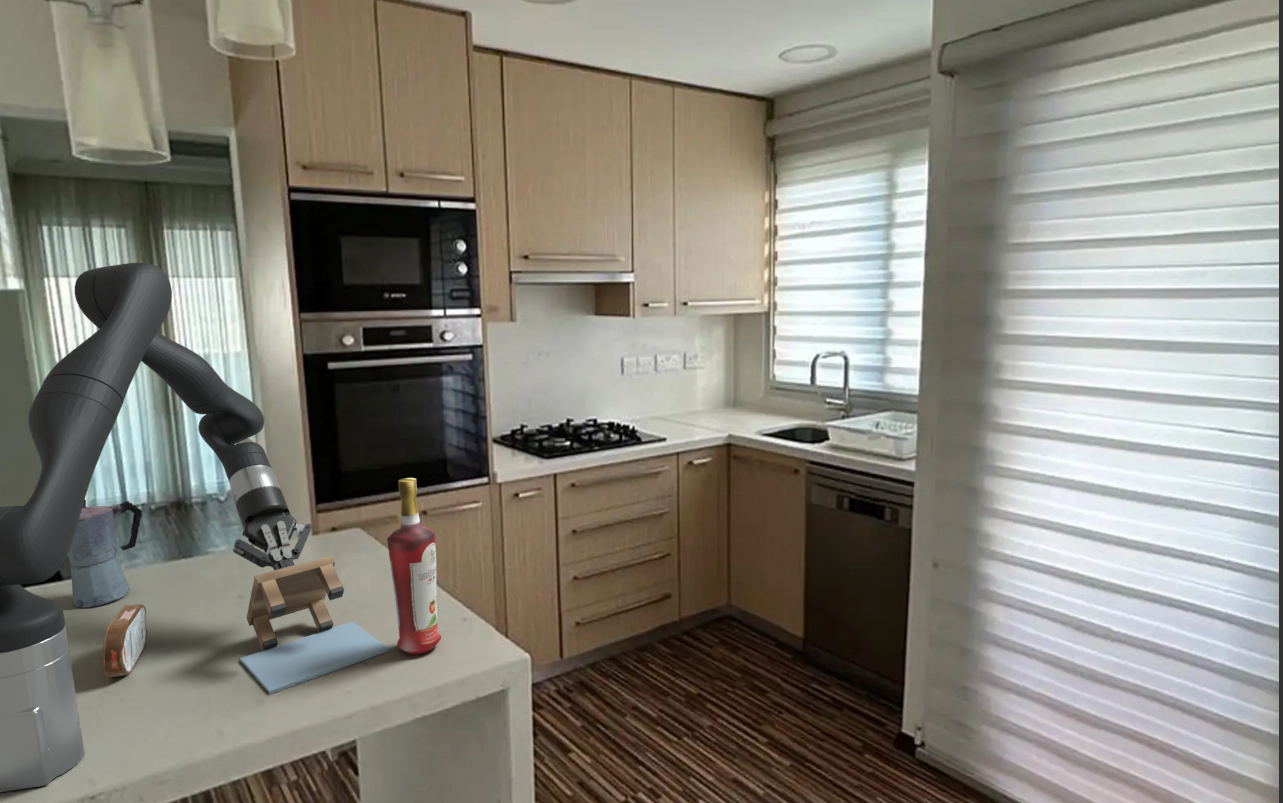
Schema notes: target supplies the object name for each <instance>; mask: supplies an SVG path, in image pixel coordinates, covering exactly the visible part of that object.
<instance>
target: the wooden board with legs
mask: <svg viewBox="0 0 1283 803" xmlns="http://www.w3.org/2000/svg"><path fill="white" fill-rule="evenodd" d="M335 564H336V562H335V559H334V557H333V556H332V555H328V556H324V557H321V558H317V559H312V560H309V561H305V562H302V563H297V564H294V565H293V566H289V567H286V568H282V569H278V570H274V569H273V570H271V571H267V572H263V573H259V574H256V575H254V578H253V584H252V588H251V594H250V599H249V602H248V609H247V614H246V620H247V623H248V625H249V626H251V627H252V626H253V630H254V632H255V635H256V637H257V639H258V643H259V645H260V648H261V651H264V650H267V649H270V648H273V647H276V646H278V644H279V641H278V639H277V635H276V634H275V630H274V629H273V625H272V623H271V620H274V619H276V618H281V617H284V616H287V615H290V614H293V613H296V612H301V611H303V610H306V609H308V610H309V612H310V614H311V617H312V619H313V622H314V623H315V627H316V629H317V631H318V633H319V632H322V631H325V630H328V629H331V628H334V627H333V626H334V622H333V619H332V617H331V614H330V613H329V611H328V608H327V606H326V603H325V600H326V595H327V597H328V599H329V601H333V600H336V599H340V598H342V597H343V595H344V592H345V589H344V586H343V584H342V582H341V580H340V578H339V575H338V573H337V572H336V569H335Z"/></svg>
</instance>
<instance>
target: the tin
mask: <svg viewBox="0 0 1283 803" xmlns="http://www.w3.org/2000/svg"><path fill="white" fill-rule="evenodd" d="M147 638H148V628H147V609H146V606H145V605H144V604H142V603H140V604H139V603H138V604H137V603H136V604H123V606H122V607H121V608H120V610H118V612H117V613H116V615H115V616H114V618H113V619H112V620H111V621H110V623H109V624H108V626H107V629H106V631H105V634H104V638H103V639H104V640H103V644H102V645H103V646H102V666H103V672H104V674H105V675H104V676H106V678H107V679H111V678H115V677H123V676H127V675H130V673H132V671H133V670H134V668H135V666H136V664H137V662H138V661H139V659H140V658H141V656H142V655H143V652H144V650H145V647H146V645H147V644H146V643H147Z"/></svg>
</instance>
